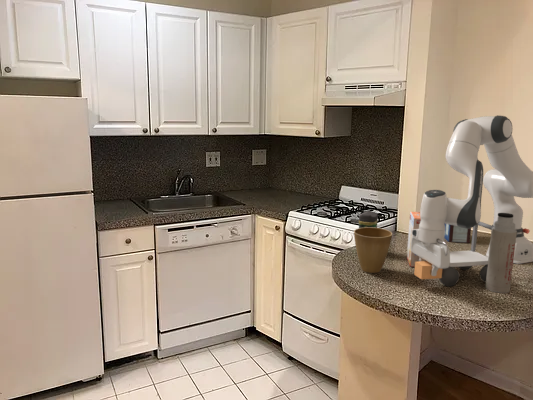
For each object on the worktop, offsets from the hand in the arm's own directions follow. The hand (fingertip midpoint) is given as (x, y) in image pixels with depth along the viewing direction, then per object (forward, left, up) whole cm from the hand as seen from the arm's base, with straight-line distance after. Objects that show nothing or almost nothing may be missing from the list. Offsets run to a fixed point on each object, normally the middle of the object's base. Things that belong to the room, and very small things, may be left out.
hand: (428, 272), depth 165 cm
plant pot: (+13, -21, -6) cm, 25 cm away
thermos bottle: (-25, +6, -6) cm, 26 cm away
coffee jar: (+4, -45, -6) cm, 45 cm away
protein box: (-50, -59, -6) cm, 77 cm away
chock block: (0, 0, -2) cm, 2 cm away
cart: (-17, -8, -6) cm, 19 cm away
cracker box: (-10, -27, -6) cm, 29 cm away
